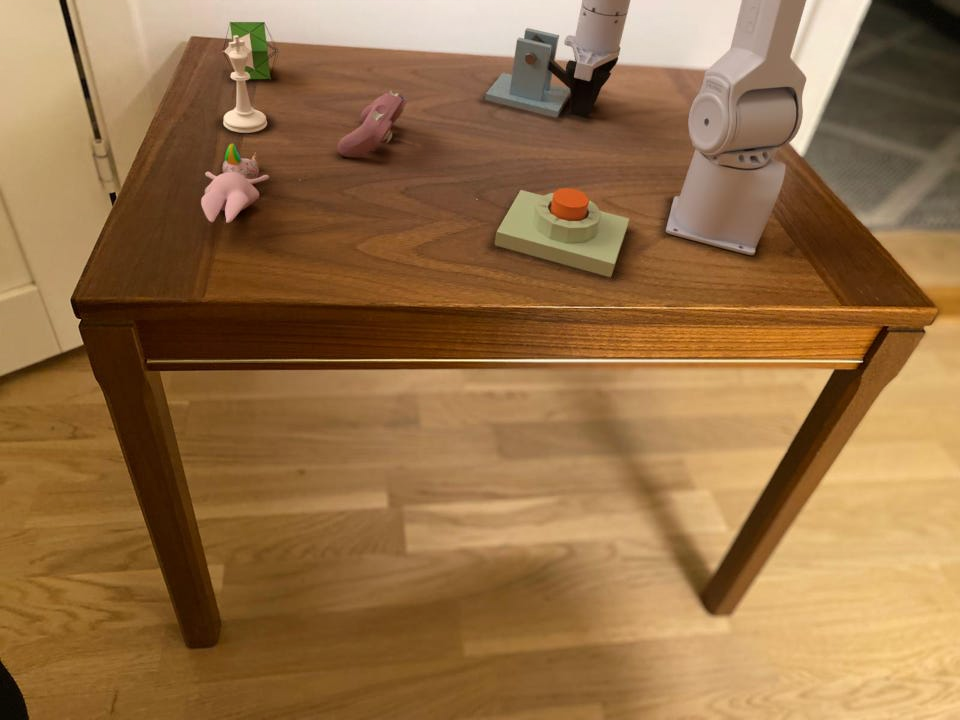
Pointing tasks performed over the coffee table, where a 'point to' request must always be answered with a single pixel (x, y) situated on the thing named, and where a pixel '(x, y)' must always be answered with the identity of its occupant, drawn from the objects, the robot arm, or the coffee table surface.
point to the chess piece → (242, 96)
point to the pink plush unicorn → (232, 186)
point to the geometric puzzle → (253, 48)
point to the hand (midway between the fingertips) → (581, 113)
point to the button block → (562, 234)
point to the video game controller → (373, 125)
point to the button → (569, 204)
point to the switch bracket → (531, 77)
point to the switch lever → (555, 67)
